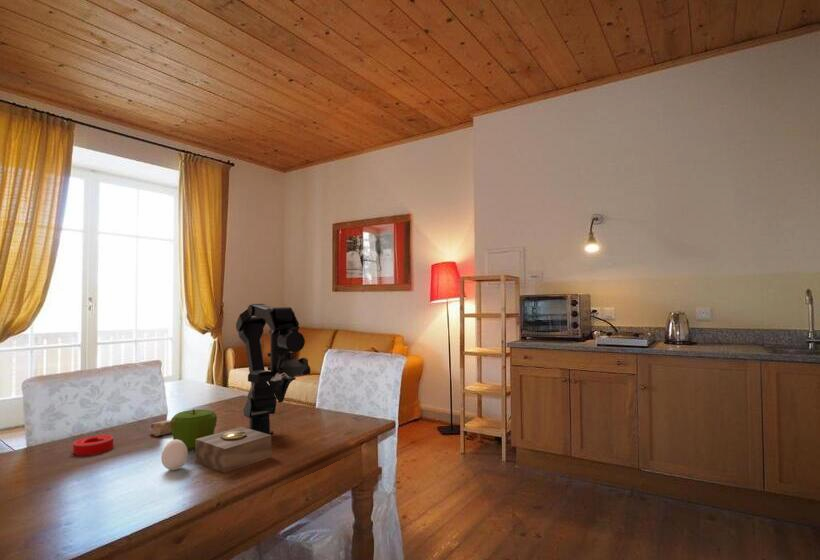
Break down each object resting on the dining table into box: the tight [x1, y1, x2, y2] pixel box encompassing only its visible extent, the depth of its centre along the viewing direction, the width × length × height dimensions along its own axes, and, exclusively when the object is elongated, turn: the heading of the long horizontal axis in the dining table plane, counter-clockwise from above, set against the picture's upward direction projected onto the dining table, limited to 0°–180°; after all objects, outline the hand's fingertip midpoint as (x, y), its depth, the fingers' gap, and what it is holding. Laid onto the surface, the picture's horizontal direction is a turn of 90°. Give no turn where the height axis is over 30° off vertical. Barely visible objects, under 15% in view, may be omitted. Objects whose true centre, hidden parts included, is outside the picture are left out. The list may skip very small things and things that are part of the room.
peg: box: [222, 431, 245, 441], centre depth 123 cm, size 6×6×6 cm
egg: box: [160, 439, 189, 471], centre depth 116 cm, size 6×6×8 cm
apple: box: [170, 408, 218, 452], centre depth 134 cm, size 12×12×11 cm
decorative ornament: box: [72, 434, 114, 456], centre depth 133 cm, size 10×10×3 cm
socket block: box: [194, 426, 272, 474], centre depth 123 cm, size 14×14×6 cm
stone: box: [149, 419, 172, 437], centre depth 149 cm, size 8×10×4 cm
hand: (280, 402), depth 134 cm, fingers closed
